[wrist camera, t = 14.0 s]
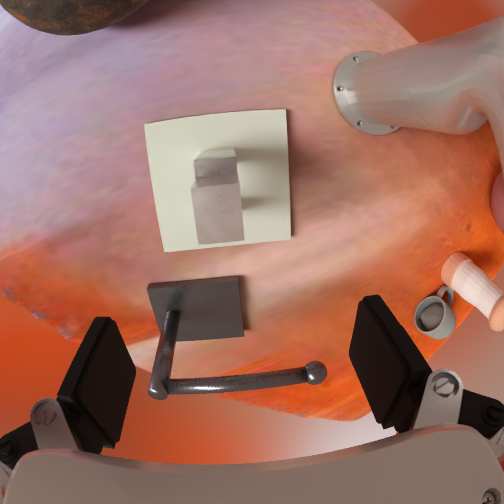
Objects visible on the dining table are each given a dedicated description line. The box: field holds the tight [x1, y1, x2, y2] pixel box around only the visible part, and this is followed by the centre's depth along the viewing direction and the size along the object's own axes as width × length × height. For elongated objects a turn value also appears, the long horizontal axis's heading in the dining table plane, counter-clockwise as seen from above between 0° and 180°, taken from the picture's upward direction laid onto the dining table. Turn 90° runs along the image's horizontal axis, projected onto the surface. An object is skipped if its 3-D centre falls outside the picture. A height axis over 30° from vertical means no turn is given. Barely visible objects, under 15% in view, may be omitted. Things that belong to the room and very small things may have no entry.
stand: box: [147, 276, 327, 400], centre depth 38 cm, size 24×11×18 cm, turn 94°
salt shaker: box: [441, 252, 504, 331], centre depth 39 cm, size 7×7×19 cm
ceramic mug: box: [414, 285, 456, 339], centre depth 48 cm, size 11×8×8 cm
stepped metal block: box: [190, 148, 245, 245], centre depth 30 cm, size 4×8×14 cm, turn 4°
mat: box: [144, 109, 291, 252], centre depth 37 cm, size 18×18×1 cm
